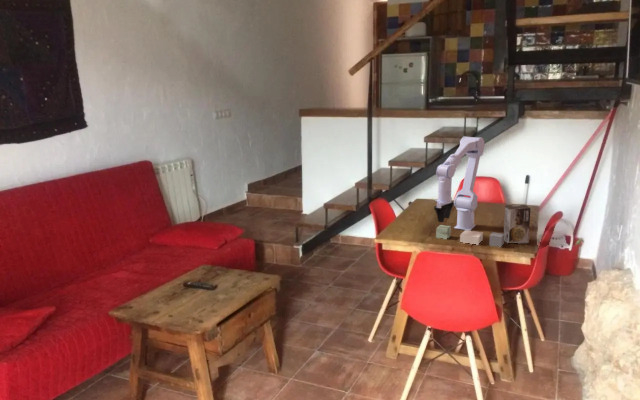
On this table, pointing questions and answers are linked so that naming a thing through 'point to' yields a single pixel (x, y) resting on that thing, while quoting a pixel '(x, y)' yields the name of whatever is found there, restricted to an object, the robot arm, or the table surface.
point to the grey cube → (496, 239)
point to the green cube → (443, 231)
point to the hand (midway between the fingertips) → (443, 219)
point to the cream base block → (471, 237)
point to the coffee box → (516, 224)
